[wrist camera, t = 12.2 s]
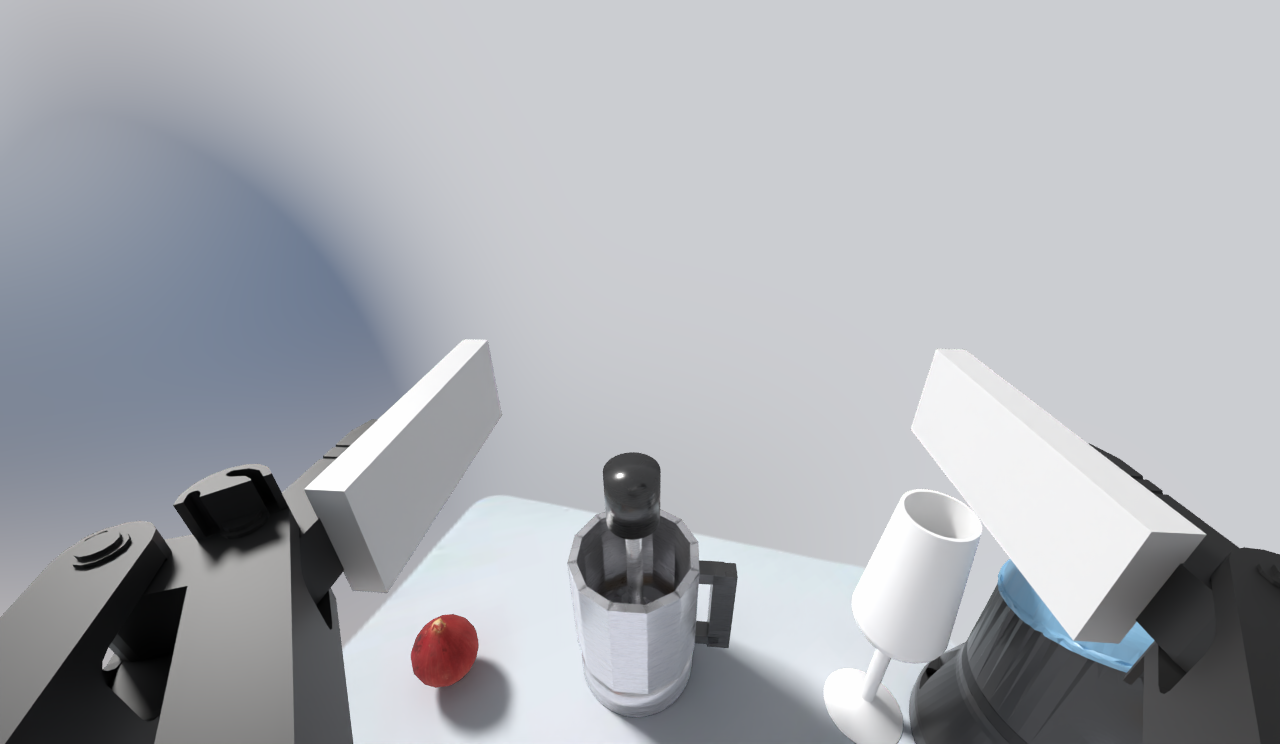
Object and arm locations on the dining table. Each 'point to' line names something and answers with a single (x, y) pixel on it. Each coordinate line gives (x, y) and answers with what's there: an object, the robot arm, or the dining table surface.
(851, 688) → the champagne flute
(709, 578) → the press pot
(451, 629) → the onion
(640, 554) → the plunger
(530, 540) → the dining table surface
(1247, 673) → the robot arm
